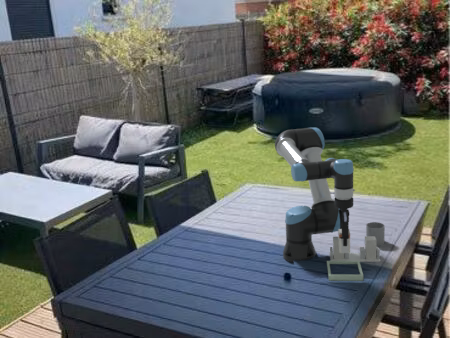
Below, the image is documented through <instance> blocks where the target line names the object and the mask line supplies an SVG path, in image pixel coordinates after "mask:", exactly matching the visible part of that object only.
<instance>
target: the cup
mask: <svg viewBox="0 0 450 338" xmlns="http://www.w3.org/2000/svg"><path fill="white" fill-rule="evenodd" d="M365 225H366V228H365V230H366V231H365V232H366V233H365V236H375V238H376V246H382V245H384V244H385V227H386V226H385V224H384V223H382V222H377V221H375V222H374V221H373V222H368V223H366V224H365Z"/></svg>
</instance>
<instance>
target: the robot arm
mask: <svg viewBox="0 0 450 338" xmlns="http://www.w3.org/2000/svg"><path fill="white" fill-rule="evenodd" d="M325 145H326V144H325V137H324V134H323V132H322V131H321V129H320V128H318V127H311V126H310V127H304V128H296V129H293V128H292V129H287V130H284V131H282V132H281V133H280V134H278V136H277V137H276V139H275V142H274V149H275V151H276V153H277V154H278V155H279V156H281V157H283V158H284V160H285V161H286V163H288V165H289V166H290V174H291V177H292V180H293V181H294V182H307V181H308V184H309V189H310V190H309V191H310V193H311V196H312V202H313V203H312V205H311V207H310V206H307V205H297V206H293V207H290V208H288V210H287V211H286V212H285V220H284V221H285V222H284V224H285V238H286V239H285V240H286V241H285V244H284V247H283V251H282V254H283V255H282V257H283V259H284V260H285V261H287V262H290V263H294V262H295V261H299V262H300V261H308V260H311V259H314V258H315V257H316V256H317V251H316V248H315V246H314V243H313V241H312V240H313V239H312V235H319V234H329V233H331V234H333V233H335V232H336V233H337V232H338V229H342V237H340V239H341V244H342V253H348V239H349V231H350V228H349V222H350V209H351V208H354V192H355V191H356V190H355V188H354V163H353V160H351V159H346V158H342V159H341V158H340V159H338V158H334V157H329V158H326V159H325V160H322V156H321V155H322V153H323V150H324V149H325ZM327 179H333V180H334V181H333V183H334V185H333V188H334V190H333V191H334V193H333V195H334V199H333V198H332V194H331V190H330V188H329V182H328V180H327Z"/></svg>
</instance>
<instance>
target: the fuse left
mask: <svg viewBox="0 0 450 338" xmlns="http://www.w3.org/2000/svg"><path fill="white" fill-rule="evenodd" d="M332 246H333V247H332V249H333V257H334V259H344V253H339V240H338V236H333V237H332Z"/></svg>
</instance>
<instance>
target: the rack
mask: <svg viewBox="0 0 450 338" xmlns="http://www.w3.org/2000/svg"><path fill="white" fill-rule="evenodd" d="M380 253H381V252H380V248H379V246H376V259H366V257H365V246H360V247H359V252H350V253H344V259H334V257H333V247H332V246H330V247H329V259H330V260H329V261H360V263H361V262H370V263H372V262H373V263H374V262H376V263H377V262H381V259H380Z"/></svg>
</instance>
